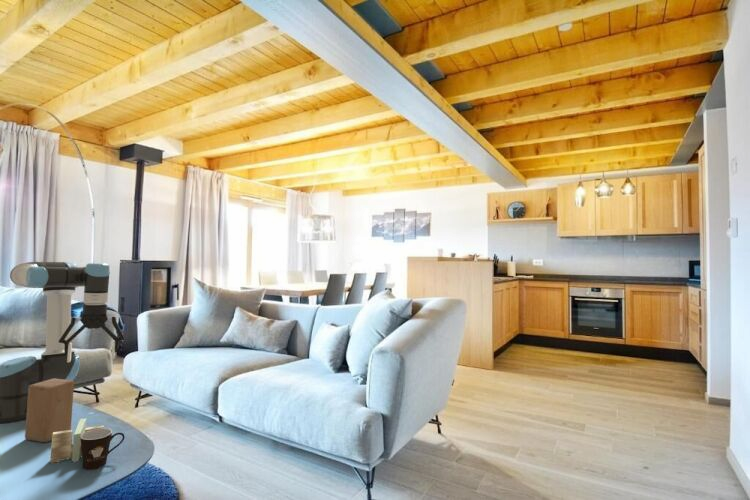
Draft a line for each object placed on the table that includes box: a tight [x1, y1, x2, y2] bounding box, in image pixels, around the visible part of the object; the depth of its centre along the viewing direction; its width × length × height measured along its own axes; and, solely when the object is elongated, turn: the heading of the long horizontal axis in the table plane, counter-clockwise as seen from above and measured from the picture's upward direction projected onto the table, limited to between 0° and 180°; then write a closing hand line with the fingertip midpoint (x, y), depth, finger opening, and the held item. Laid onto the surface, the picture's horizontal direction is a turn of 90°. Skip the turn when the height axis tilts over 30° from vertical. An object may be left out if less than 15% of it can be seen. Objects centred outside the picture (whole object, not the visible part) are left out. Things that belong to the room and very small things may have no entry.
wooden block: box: [24, 378, 75, 443], centre depth 148 cm, size 10×10×20 cm
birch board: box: [49, 424, 105, 464], centre depth 134 cm, size 14×4×9 cm, turn 120°
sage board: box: [71, 418, 87, 462], centre depth 137 cm, size 14×2×9 cm, turn 30°
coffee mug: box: [80, 427, 126, 471], centre depth 130 cm, size 12×9×10 cm
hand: (91, 360), depth 149 cm, fingers open, 13 cm apart
